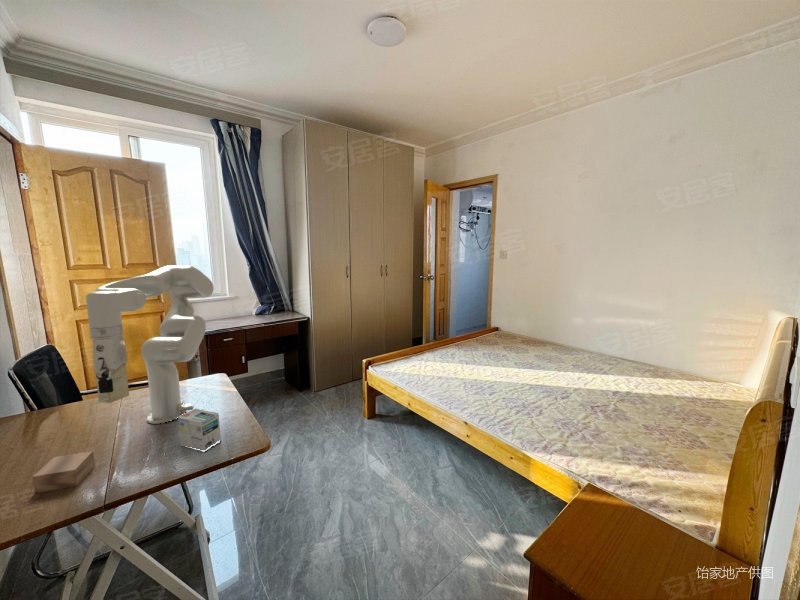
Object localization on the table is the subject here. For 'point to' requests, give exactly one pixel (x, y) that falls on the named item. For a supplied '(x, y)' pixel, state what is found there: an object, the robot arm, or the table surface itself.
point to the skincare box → (115, 385)
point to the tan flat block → (63, 471)
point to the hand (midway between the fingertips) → (112, 387)
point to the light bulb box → (199, 429)
